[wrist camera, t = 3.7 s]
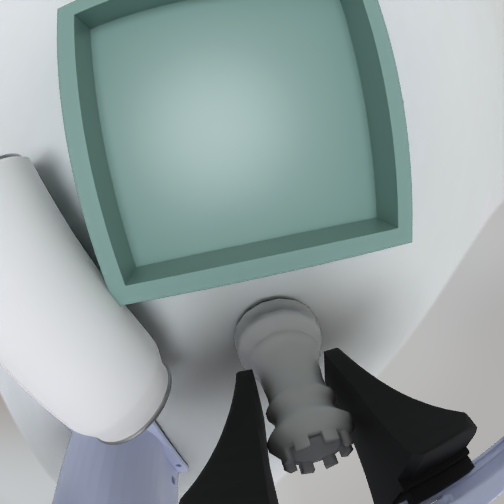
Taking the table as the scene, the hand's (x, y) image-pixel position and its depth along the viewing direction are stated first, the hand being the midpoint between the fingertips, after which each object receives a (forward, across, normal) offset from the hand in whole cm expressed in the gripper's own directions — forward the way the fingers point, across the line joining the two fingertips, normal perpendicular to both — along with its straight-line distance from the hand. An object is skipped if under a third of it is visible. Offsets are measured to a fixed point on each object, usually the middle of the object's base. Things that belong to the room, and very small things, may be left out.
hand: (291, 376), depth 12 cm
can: (0, +12, -11) cm, 16 cm away
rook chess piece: (+4, 0, 0) cm, 4 cm away
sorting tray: (+4, 0, -11) cm, 12 cm away
